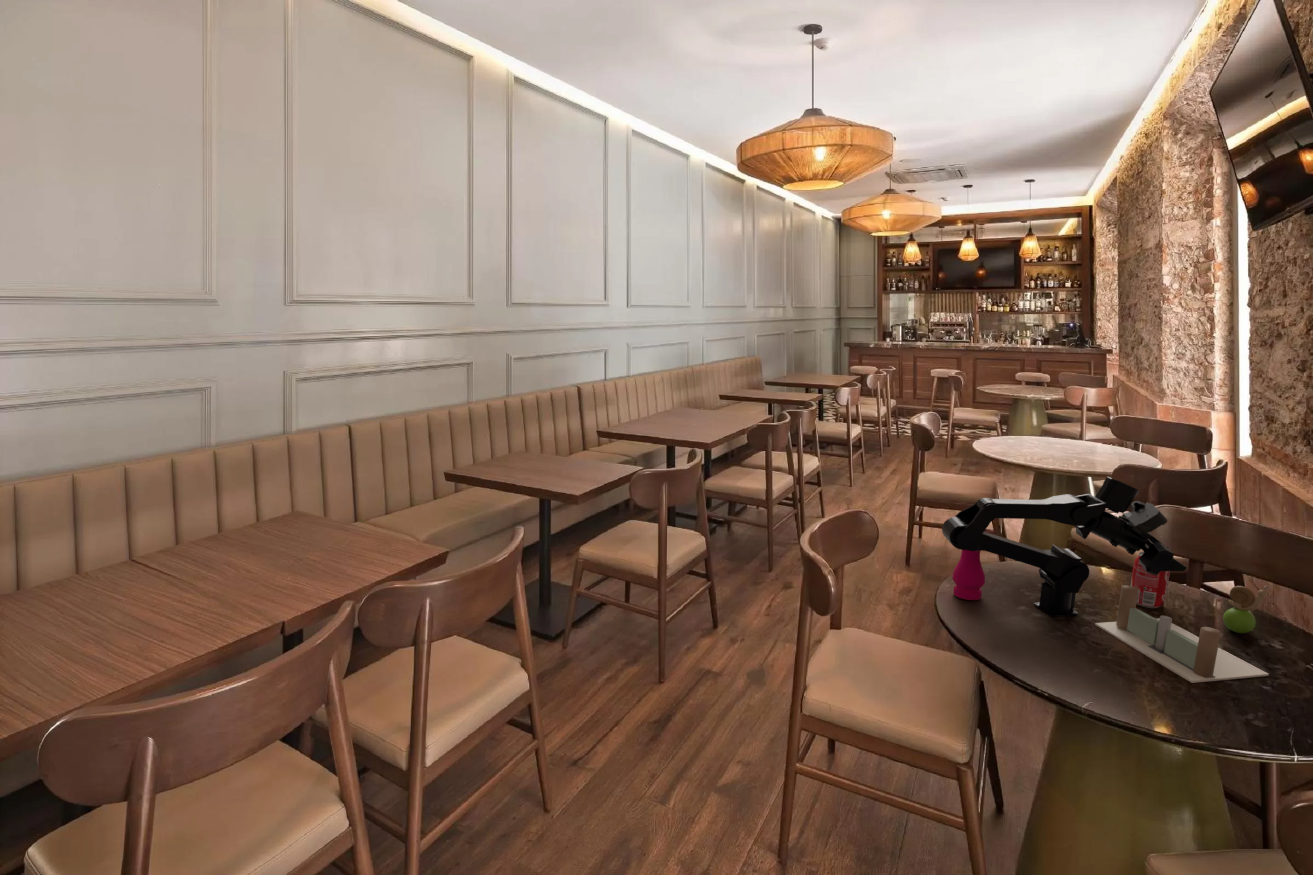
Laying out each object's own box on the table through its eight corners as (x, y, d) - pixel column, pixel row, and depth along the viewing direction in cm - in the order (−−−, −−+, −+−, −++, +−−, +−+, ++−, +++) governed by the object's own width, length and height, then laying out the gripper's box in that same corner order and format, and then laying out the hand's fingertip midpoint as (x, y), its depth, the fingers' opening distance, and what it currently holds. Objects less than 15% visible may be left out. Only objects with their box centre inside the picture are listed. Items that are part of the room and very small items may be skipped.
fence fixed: (1216, 676, 134) (1224, 633, 132) (1203, 678, 133) (1211, 634, 131) (1163, 646, 145) (1169, 606, 143) (1150, 647, 145) (1156, 606, 143)
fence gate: (1162, 643, 145) (1168, 603, 144) (1149, 644, 145) (1155, 604, 143) (1124, 622, 155) (1130, 584, 153) (1112, 623, 154) (1118, 585, 153)
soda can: (1153, 597, 170) (1160, 551, 167) (1171, 610, 163) (1179, 562, 160) (1122, 596, 170) (1129, 550, 168) (1138, 609, 163) (1146, 560, 161)
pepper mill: (945, 590, 173) (951, 511, 170) (973, 590, 174) (980, 511, 171) (960, 601, 166) (967, 519, 163) (989, 600, 167) (996, 519, 164)
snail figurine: (1251, 641, 148) (1261, 588, 146) (1216, 629, 154) (1225, 577, 151) (1263, 636, 151) (1273, 584, 148) (1228, 623, 156) (1237, 573, 154)
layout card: (1191, 682, 132) (1192, 680, 132) (1094, 624, 156) (1095, 622, 155) (1268, 675, 135) (1268, 673, 135) (1161, 619, 158) (1162, 617, 158)
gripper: (1155, 519, 146) (1223, 552, 146) (1117, 482, 163) (1178, 511, 163) (1120, 560, 150) (1186, 591, 150) (1087, 519, 168) (1146, 547, 167)
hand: (1174, 558), depth 158 cm, fingers open, 9 cm apart
